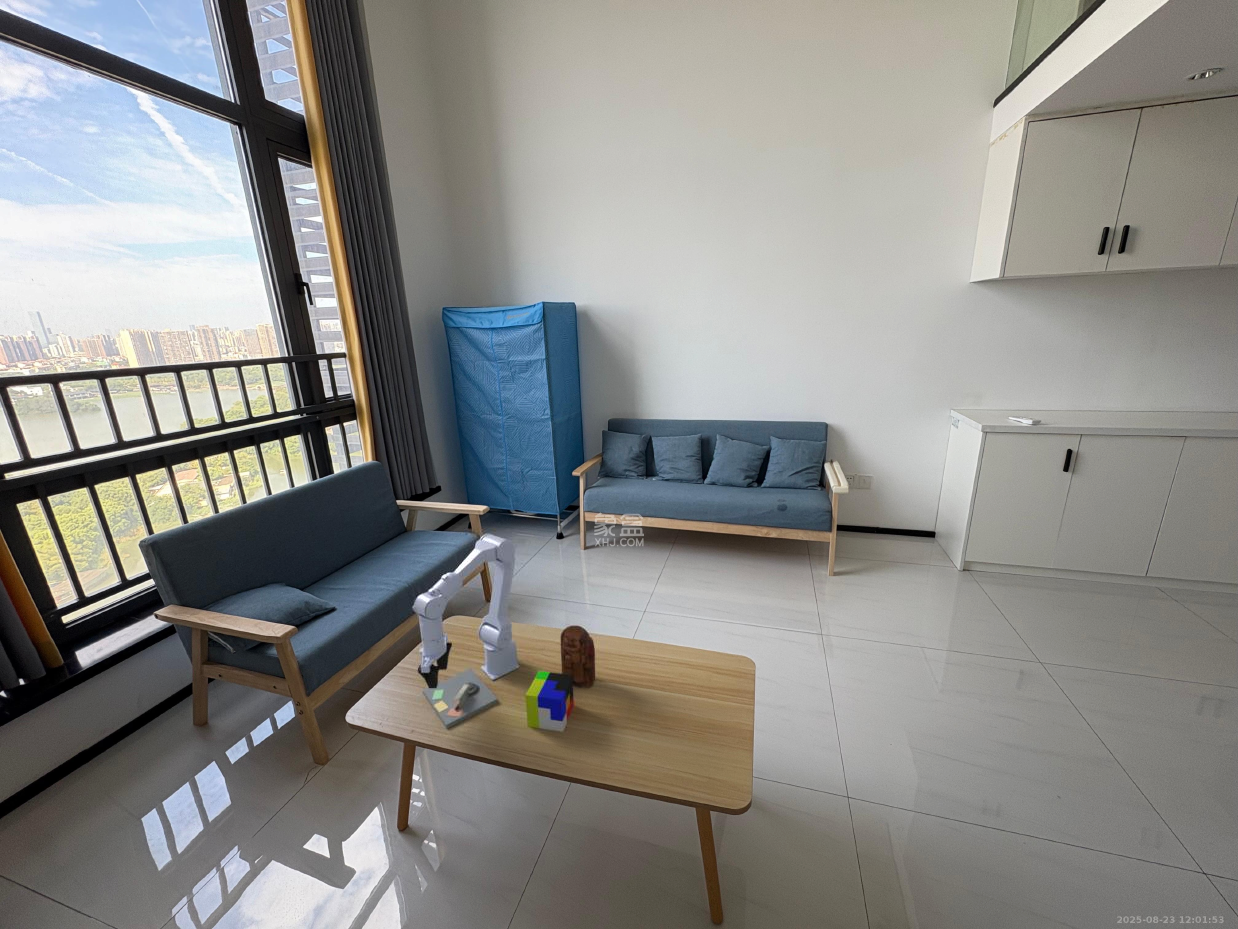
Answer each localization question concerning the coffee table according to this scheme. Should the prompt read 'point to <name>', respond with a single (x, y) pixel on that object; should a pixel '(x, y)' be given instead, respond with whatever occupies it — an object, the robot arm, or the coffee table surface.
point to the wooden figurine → (578, 656)
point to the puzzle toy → (550, 701)
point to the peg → (464, 694)
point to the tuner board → (448, 691)
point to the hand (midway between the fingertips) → (438, 678)
